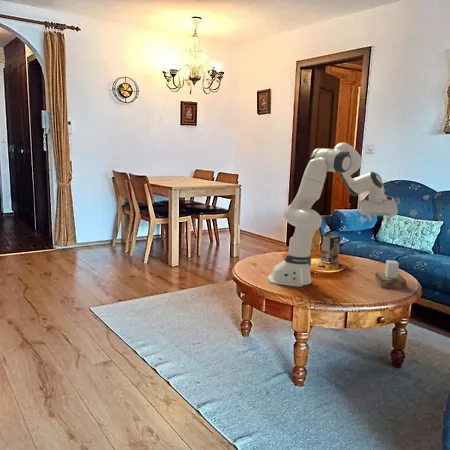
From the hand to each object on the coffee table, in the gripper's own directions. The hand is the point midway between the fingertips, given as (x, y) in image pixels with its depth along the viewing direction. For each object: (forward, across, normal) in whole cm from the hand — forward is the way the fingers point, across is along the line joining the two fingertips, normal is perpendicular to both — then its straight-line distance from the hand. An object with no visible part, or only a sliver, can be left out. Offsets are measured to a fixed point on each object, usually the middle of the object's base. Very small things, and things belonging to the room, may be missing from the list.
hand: (379, 220), depth 238 cm
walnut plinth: (+35, +3, +6) cm, 36 cm away
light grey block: (+32, +3, +3) cm, 33 cm away
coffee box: (+11, -23, +30) cm, 40 cm away
